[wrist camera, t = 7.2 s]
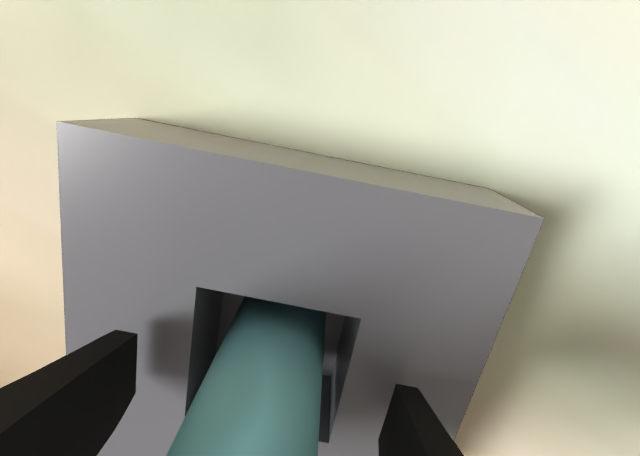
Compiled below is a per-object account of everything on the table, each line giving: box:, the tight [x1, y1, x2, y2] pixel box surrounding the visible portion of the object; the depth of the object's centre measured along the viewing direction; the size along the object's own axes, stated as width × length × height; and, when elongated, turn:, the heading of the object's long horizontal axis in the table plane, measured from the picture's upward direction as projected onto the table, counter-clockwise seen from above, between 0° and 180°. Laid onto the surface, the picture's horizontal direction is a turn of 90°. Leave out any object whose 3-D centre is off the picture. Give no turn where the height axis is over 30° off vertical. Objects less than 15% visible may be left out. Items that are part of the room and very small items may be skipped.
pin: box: [166, 296, 326, 456], centre depth 10 cm, size 3×3×8 cm
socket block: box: [57, 118, 544, 456], centre depth 12 cm, size 12×12×4 cm
